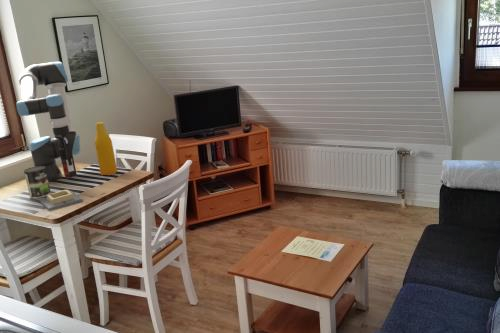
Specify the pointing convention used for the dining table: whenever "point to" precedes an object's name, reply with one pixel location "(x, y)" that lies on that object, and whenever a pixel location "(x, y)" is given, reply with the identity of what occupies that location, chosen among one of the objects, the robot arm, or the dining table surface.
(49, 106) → the robot arm
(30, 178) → the coffee can
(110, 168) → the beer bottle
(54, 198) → the hub board
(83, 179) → the dining table surface
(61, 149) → the deodorant
